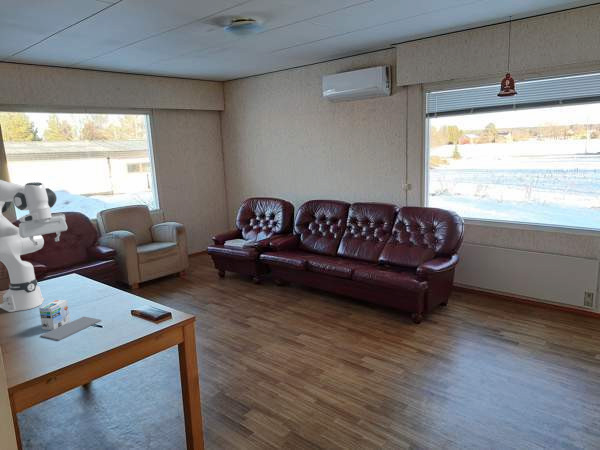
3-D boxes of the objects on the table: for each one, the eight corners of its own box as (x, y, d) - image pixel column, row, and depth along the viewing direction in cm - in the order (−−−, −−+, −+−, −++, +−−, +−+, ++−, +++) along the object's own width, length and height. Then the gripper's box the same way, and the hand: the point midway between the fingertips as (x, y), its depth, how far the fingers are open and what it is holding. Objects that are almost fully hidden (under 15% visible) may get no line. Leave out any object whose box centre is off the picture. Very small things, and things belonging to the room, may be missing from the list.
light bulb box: (54, 330, 192) (50, 308, 190) (41, 329, 194) (38, 307, 192) (71, 321, 203) (68, 299, 201) (59, 320, 204) (55, 299, 202)
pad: (40, 336, 187) (40, 335, 186) (83, 317, 206) (83, 316, 206) (58, 340, 182) (58, 339, 182) (101, 320, 201) (101, 319, 201)
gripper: (62, 212, 214) (68, 238, 215) (15, 219, 200) (21, 247, 202) (66, 212, 209) (71, 239, 211) (18, 219, 195) (24, 248, 197)
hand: (46, 243), depth 206 cm, fingers open, 8 cm apart
